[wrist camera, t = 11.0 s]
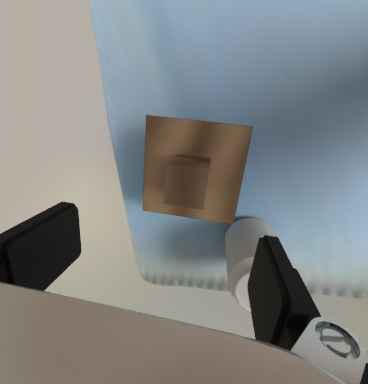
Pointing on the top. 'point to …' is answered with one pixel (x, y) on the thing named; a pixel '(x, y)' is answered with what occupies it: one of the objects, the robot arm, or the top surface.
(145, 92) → the top surface
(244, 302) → the can
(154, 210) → the lid
